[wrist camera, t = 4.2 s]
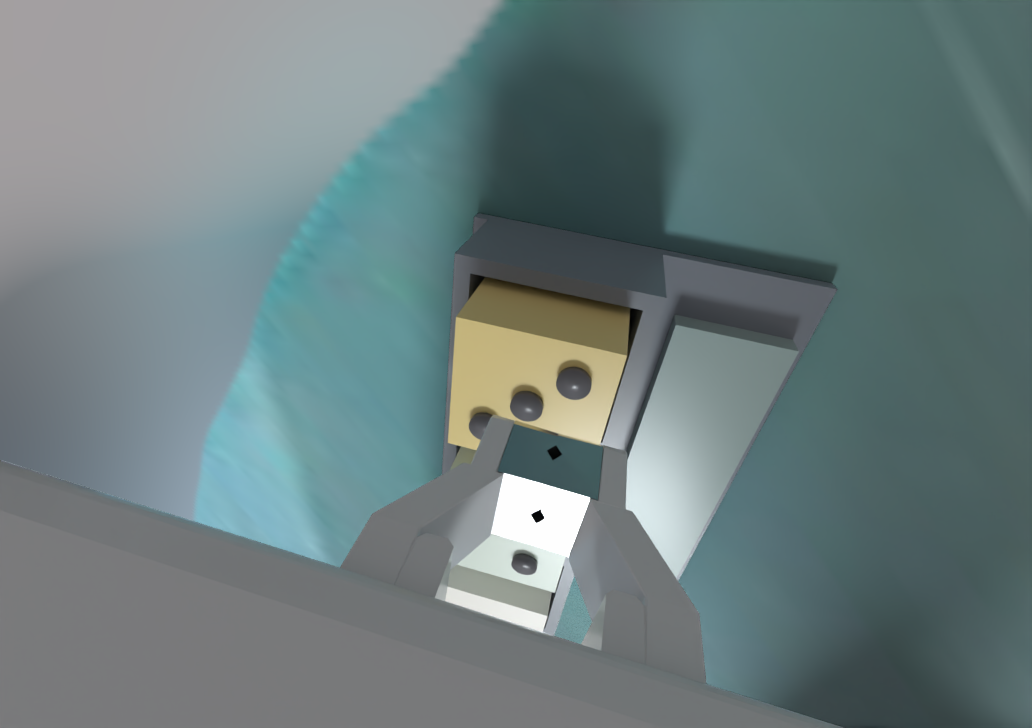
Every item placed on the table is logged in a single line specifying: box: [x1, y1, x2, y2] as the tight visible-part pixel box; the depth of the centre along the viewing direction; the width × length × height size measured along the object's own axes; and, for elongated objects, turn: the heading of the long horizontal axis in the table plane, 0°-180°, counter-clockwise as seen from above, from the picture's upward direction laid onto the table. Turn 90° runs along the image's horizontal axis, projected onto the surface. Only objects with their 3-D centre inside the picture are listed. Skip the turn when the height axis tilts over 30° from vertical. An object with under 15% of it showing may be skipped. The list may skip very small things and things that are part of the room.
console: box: [442, 213, 837, 636], centre depth 20 cm, size 12×18×4 cm, turn 173°
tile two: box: [450, 446, 566, 593], centre depth 18 cm, size 4×4×4 cm
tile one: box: [445, 565, 552, 632], centre depth 21 cm, size 4×4×4 cm
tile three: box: [448, 277, 630, 450], centre depth 15 cm, size 4×4×4 cm
